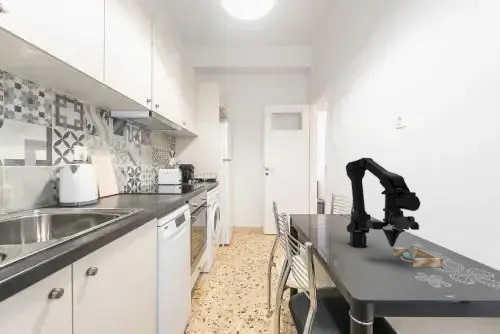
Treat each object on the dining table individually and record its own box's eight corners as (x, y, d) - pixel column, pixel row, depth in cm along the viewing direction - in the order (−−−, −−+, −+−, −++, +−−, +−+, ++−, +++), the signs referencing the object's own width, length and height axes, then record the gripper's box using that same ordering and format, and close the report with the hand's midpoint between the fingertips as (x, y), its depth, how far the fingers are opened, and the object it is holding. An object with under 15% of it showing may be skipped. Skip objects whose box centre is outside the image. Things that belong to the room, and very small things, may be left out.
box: (414, 267, 104) (414, 259, 104) (393, 255, 118) (393, 248, 118) (442, 267, 105) (442, 259, 105) (417, 255, 119) (418, 248, 119)
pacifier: (408, 264, 108) (422, 263, 109) (408, 248, 108) (422, 247, 109) (396, 258, 116) (410, 257, 116) (396, 242, 116) (410, 242, 116)
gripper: (380, 210, 102) (379, 252, 102) (429, 210, 103) (428, 252, 103) (366, 205, 113) (365, 244, 113) (410, 206, 114) (409, 244, 115)
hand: (391, 246), depth 111 cm, fingers closed
